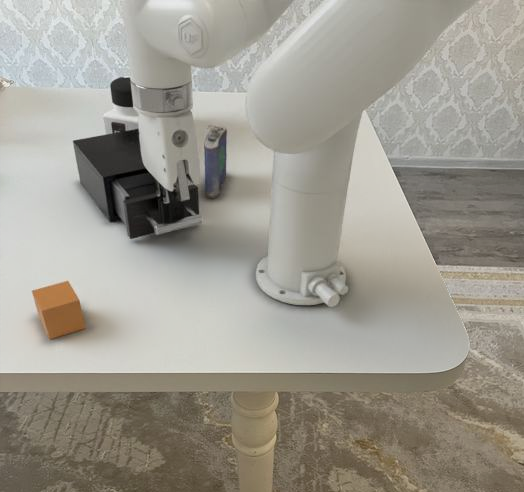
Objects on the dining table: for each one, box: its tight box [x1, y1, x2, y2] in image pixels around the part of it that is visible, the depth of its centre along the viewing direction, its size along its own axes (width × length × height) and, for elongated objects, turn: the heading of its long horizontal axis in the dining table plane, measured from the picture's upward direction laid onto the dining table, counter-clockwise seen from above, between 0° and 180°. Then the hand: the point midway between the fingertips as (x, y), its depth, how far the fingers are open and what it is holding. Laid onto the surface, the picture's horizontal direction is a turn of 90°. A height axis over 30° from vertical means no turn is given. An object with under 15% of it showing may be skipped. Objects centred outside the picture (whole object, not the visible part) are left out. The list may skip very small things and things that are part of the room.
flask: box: [203, 123, 228, 199], centre depth 99 cm, size 9×3×11 cm, turn 172°
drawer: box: [109, 172, 203, 240], centre depth 90 cm, size 19×11×6 cm, turn 31°
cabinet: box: [72, 129, 149, 223], centre depth 97 cm, size 15×13×8 cm
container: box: [102, 75, 139, 135], centre depth 107 cm, size 8×8×13 cm
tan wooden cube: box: [31, 280, 86, 340], centre depth 73 cm, size 4×4×4 cm
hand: (172, 222), depth 86 cm, fingers closed
